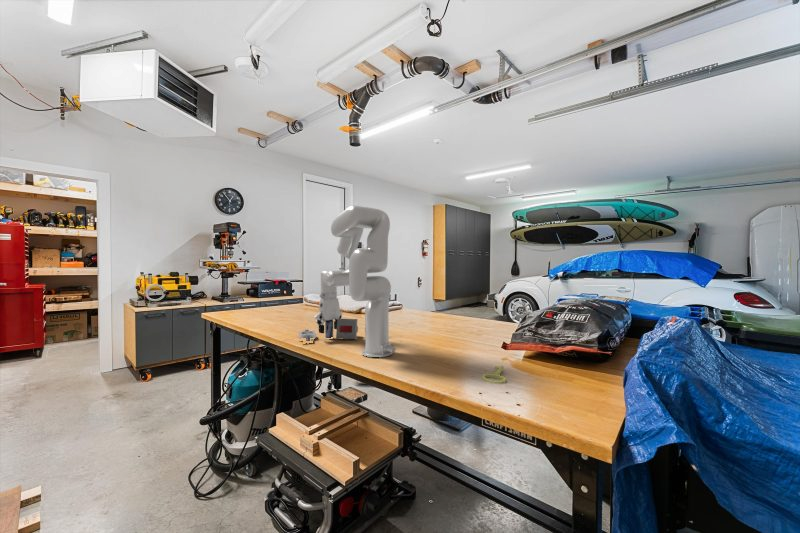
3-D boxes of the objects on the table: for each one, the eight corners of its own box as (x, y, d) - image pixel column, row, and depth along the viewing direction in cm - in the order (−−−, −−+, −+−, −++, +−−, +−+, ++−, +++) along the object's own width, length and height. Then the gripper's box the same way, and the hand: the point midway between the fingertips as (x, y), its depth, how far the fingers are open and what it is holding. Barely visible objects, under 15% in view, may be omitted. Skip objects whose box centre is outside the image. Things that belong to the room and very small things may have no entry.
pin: (334, 338, 153) (334, 318, 153) (329, 340, 150) (328, 319, 150) (329, 337, 155) (329, 317, 155) (323, 339, 152) (323, 318, 152)
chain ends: (316, 343, 144) (316, 337, 144) (299, 345, 141) (299, 338, 141) (314, 332, 167) (314, 326, 167) (299, 333, 165) (299, 327, 165)
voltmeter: (338, 342, 145) (338, 321, 145) (333, 337, 156) (332, 317, 156) (391, 336, 157) (390, 316, 157) (382, 332, 167) (382, 313, 167)
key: (503, 371, 107) (503, 365, 107) (506, 385, 95) (506, 378, 95) (481, 370, 108) (481, 363, 108) (482, 383, 96) (482, 376, 96)
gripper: (320, 298, 143) (320, 335, 143) (347, 294, 157) (347, 328, 157) (309, 297, 147) (309, 333, 147) (336, 294, 161) (336, 327, 162)
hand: (329, 331), depth 152 cm, fingers open, 9 cm apart
